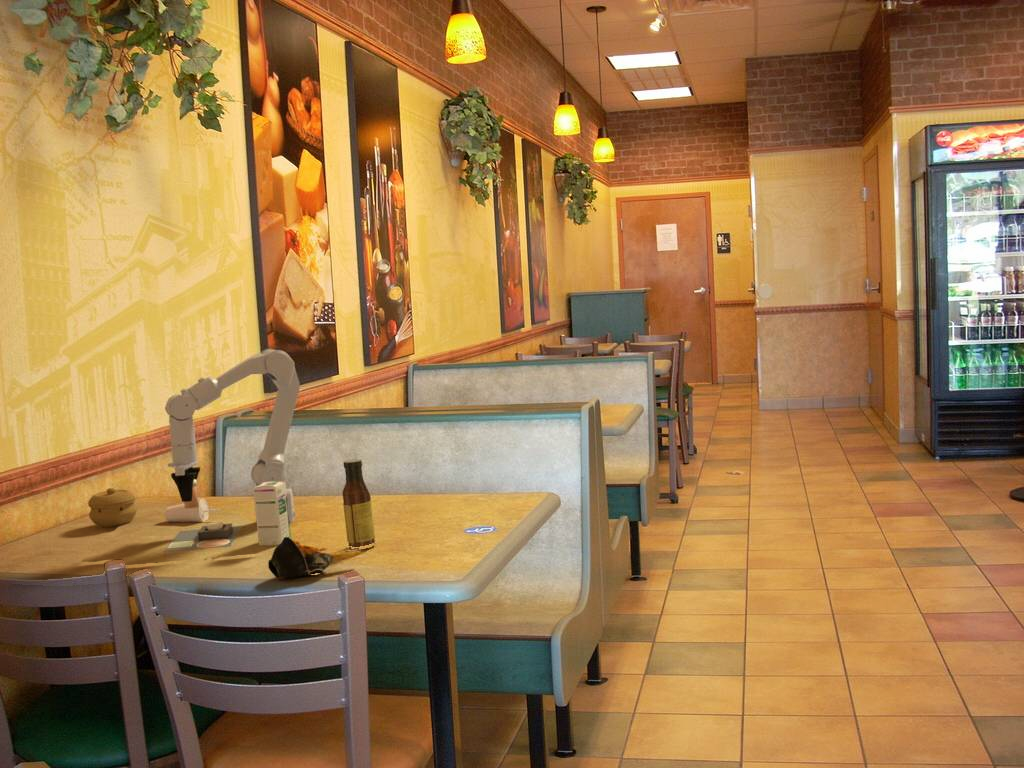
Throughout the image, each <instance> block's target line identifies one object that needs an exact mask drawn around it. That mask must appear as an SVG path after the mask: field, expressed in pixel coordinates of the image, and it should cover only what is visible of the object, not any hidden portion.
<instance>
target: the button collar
mask: <svg viewBox="0 0 1024 768" xmlns="http://www.w3.org/2000/svg"><path fill="white" fill-rule="evenodd" d="M233 527H234V526H233V523H223V529H221V530H209V531H208V530H207V525H202V526H201V528H199V529H200V530H199V532H198V541H203V540H213V539H227V538H229V537H230V535H231V534H232V532H233Z"/></svg>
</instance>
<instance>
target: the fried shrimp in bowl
mask: <svg viewBox="0 0 1024 768" xmlns="http://www.w3.org/2000/svg"><path fill="white" fill-rule="evenodd" d="M326 550H328V547H323V548H318V547H313V546H309V545H306V544H304V545H302V544H301V542H300V541H299V540H293V539H292V538H291V539H290V538H288V537H285V538H284V539H283V541H282V543H280V544H279V545H276V547H274V550H273V552H272V556H271V558H270V559H269V560H268V563H267V564H268V566H267V567H268V569H269V571H270V572H271V574H273V576H274V577H275V578H277V579H280V578H286V579H287V578H288V579H293V578H294V577H295V578H298V577H301V576H304V575H305V576H309V575H311V574H315V573H321V574H323V573H322V572H324V570H326V569H327V568H329V566H330V564H331V563H332V562H333V561H334V560H344V559H345V560H346V559H348V558H354V557H357V556H360V555H361V554H362V550H361V549H359V548H354V549H345V550H340V551H335V552H334V551H333V552H330V553H326V552H322V551H326Z"/></svg>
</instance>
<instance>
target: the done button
mask: <svg viewBox="0 0 1024 768" xmlns="http://www.w3.org/2000/svg"><path fill="white" fill-rule="evenodd" d="M223 524H224V523H223V522H220V521H214V522H210V523H207V524H206V526H207V530H208V531H209V530H221V529H223Z"/></svg>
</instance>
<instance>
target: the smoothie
mask: <svg viewBox="0 0 1024 768" xmlns="http://www.w3.org/2000/svg"><path fill="white" fill-rule="evenodd" d="M219 511H221V510H220V508H213V509H212V508H211V509H209V504H208V502H207V501H206V499H205V498H198V507H195V508H185V506H184V503H181V504H177V505H176V504H175V505H172V506H168V507H166V508H165V510H164V517H165V520H166V521H167V523H171V522H172V523H204V522H205V521H206V520H207V521H208V519H209V514H210V512H219Z"/></svg>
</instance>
